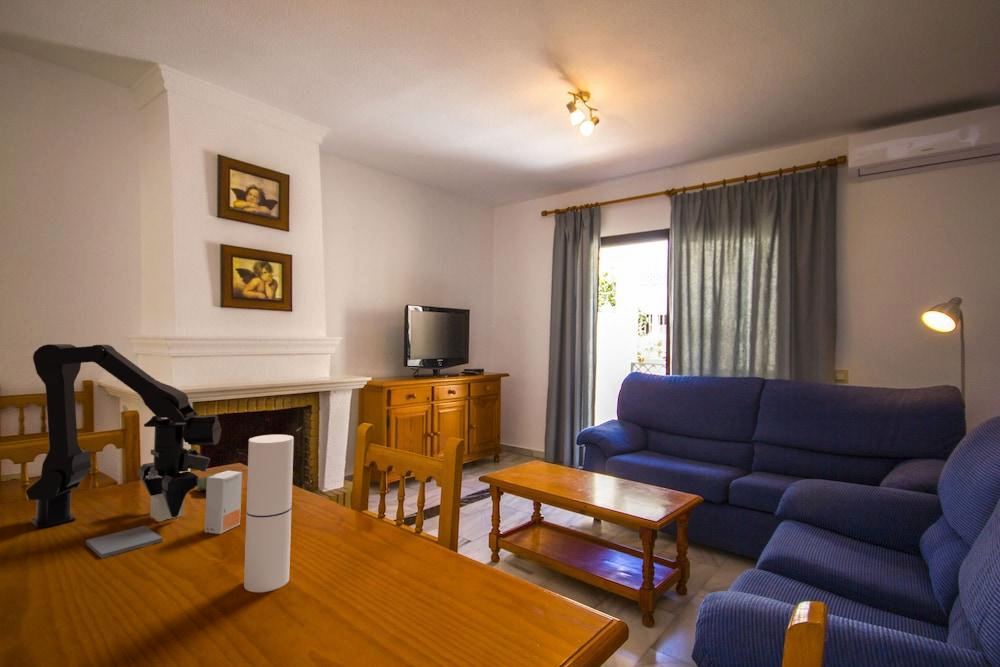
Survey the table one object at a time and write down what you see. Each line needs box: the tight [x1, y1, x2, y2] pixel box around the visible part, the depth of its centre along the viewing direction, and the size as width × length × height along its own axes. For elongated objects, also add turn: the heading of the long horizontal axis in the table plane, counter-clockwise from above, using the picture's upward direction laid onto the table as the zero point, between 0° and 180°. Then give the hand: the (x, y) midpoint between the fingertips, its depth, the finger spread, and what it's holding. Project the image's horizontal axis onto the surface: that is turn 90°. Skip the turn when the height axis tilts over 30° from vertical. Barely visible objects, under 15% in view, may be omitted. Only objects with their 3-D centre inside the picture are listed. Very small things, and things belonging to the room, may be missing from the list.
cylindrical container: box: [243, 434, 295, 593], centre depth 86 cm, size 7×7×25 cm
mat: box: [85, 525, 163, 559], centre depth 100 cm, size 10×10×1 cm
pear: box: [196, 472, 219, 492], centre depth 133 cm, size 6×5×10 cm
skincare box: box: [204, 470, 243, 535], centre depth 109 cm, size 6×4×12 cm
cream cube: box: [149, 493, 185, 522], centre depth 115 cm, size 5×5×5 cm
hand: (166, 512), depth 115 cm, fingers open, 9 cm apart
